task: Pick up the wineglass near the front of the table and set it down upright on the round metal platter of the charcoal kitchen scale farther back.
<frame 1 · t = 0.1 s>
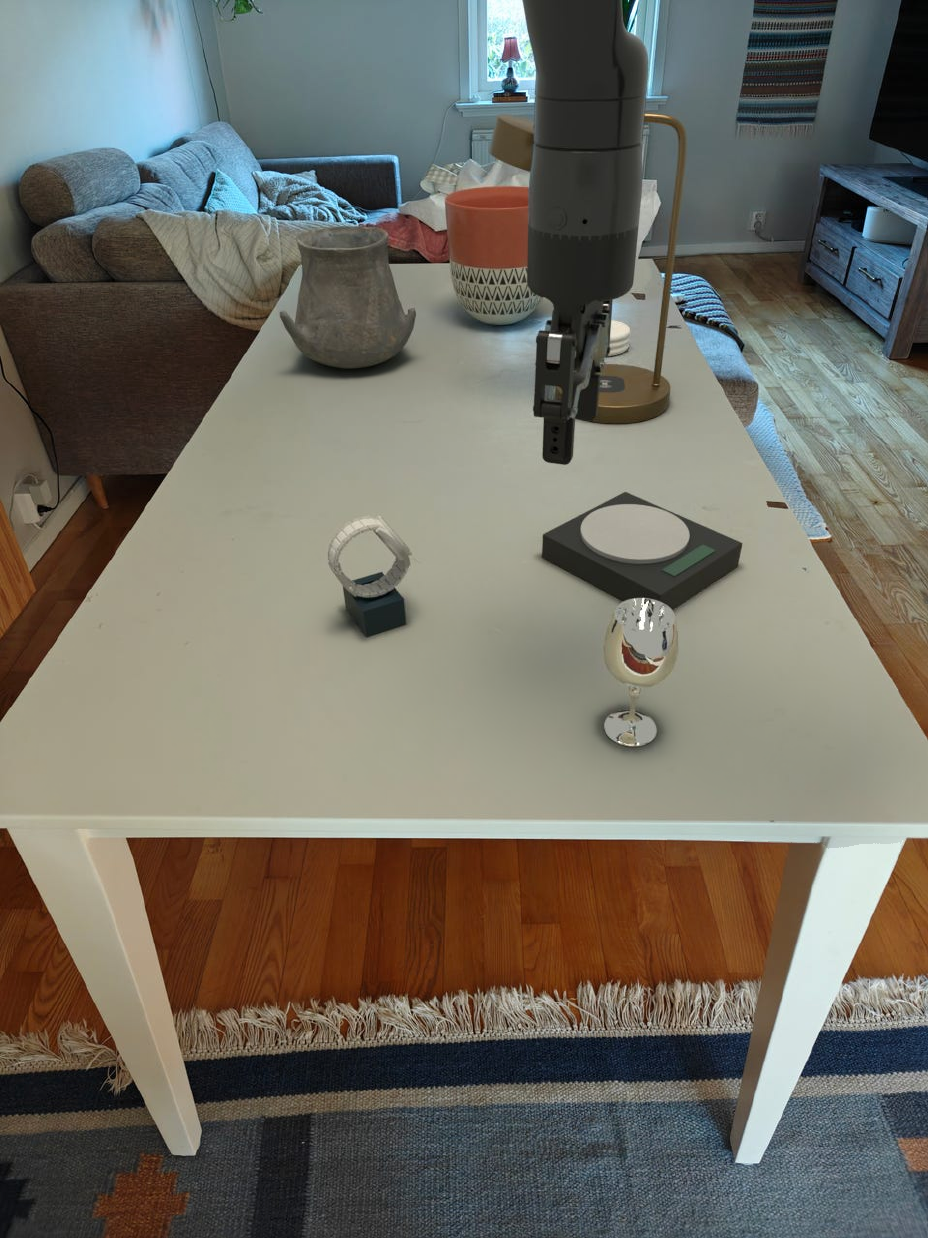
hand: (571, 438, 68), 22 cm above the table, tool pointing down, fingers open, 8 cm apart
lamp: (578, 401, 130), on the table
vessel: (354, 358, 147), on the table
white round stack: (599, 348, 148), on the table
scale: (638, 561, 93), on the table
watch: (376, 617, 87), on the table
wineglass: (629, 729, 73), on the table
planter: (500, 321, 161), on the table
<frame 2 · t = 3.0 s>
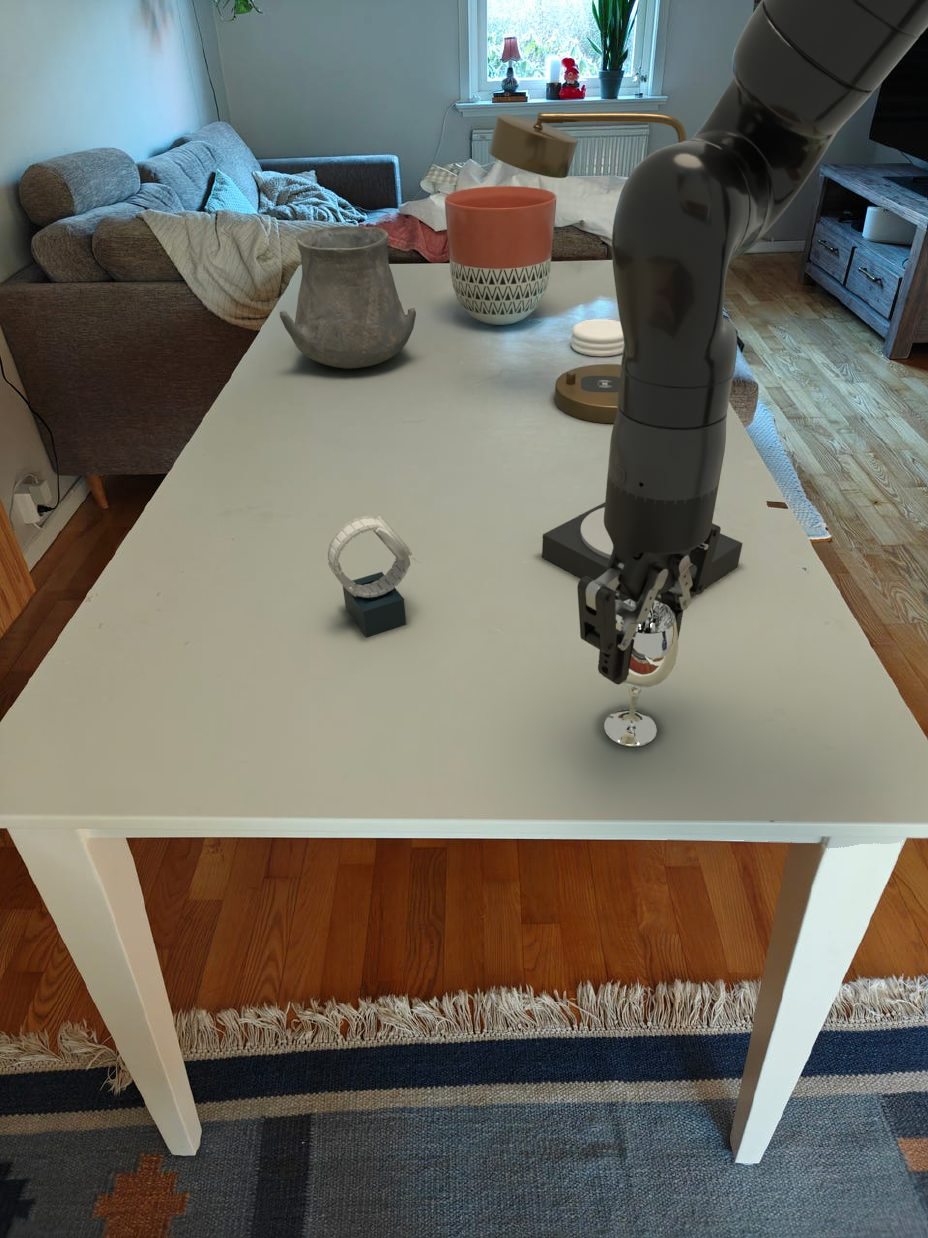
hand: (638, 659, 68), 8 cm above the table, tool pointing down, fingers closed on wineglass, 5 cm apart
wineglass: (630, 729, 73), on the table, touching gripper
everything else where it was.
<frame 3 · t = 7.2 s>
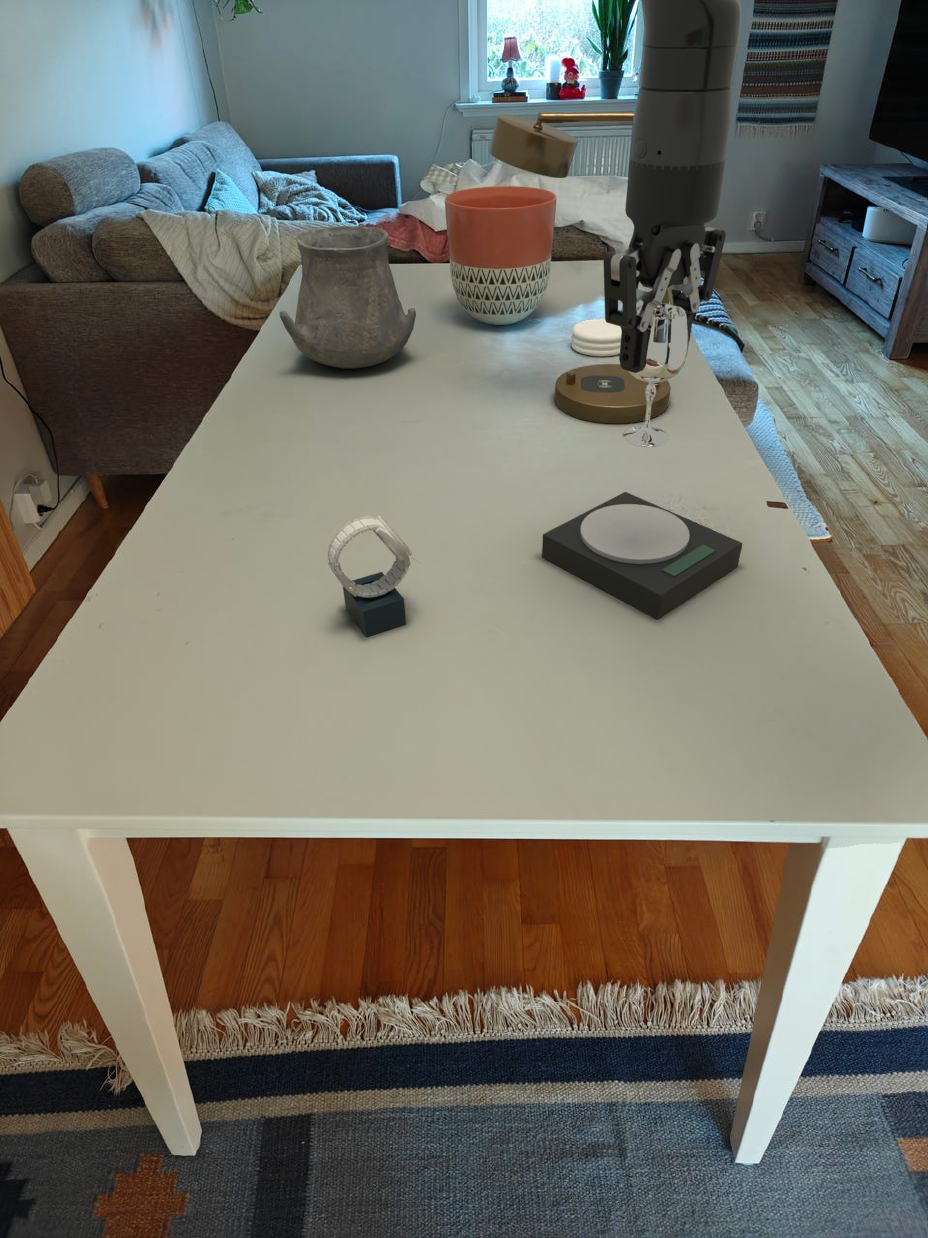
hand: (654, 360, 78), 23 cm above the table, tool pointing down, fingers closed on wineglass, 5 cm apart
wineglass: (645, 438, 82), point 15 cm above the table, touching gripper
everything else where it was.
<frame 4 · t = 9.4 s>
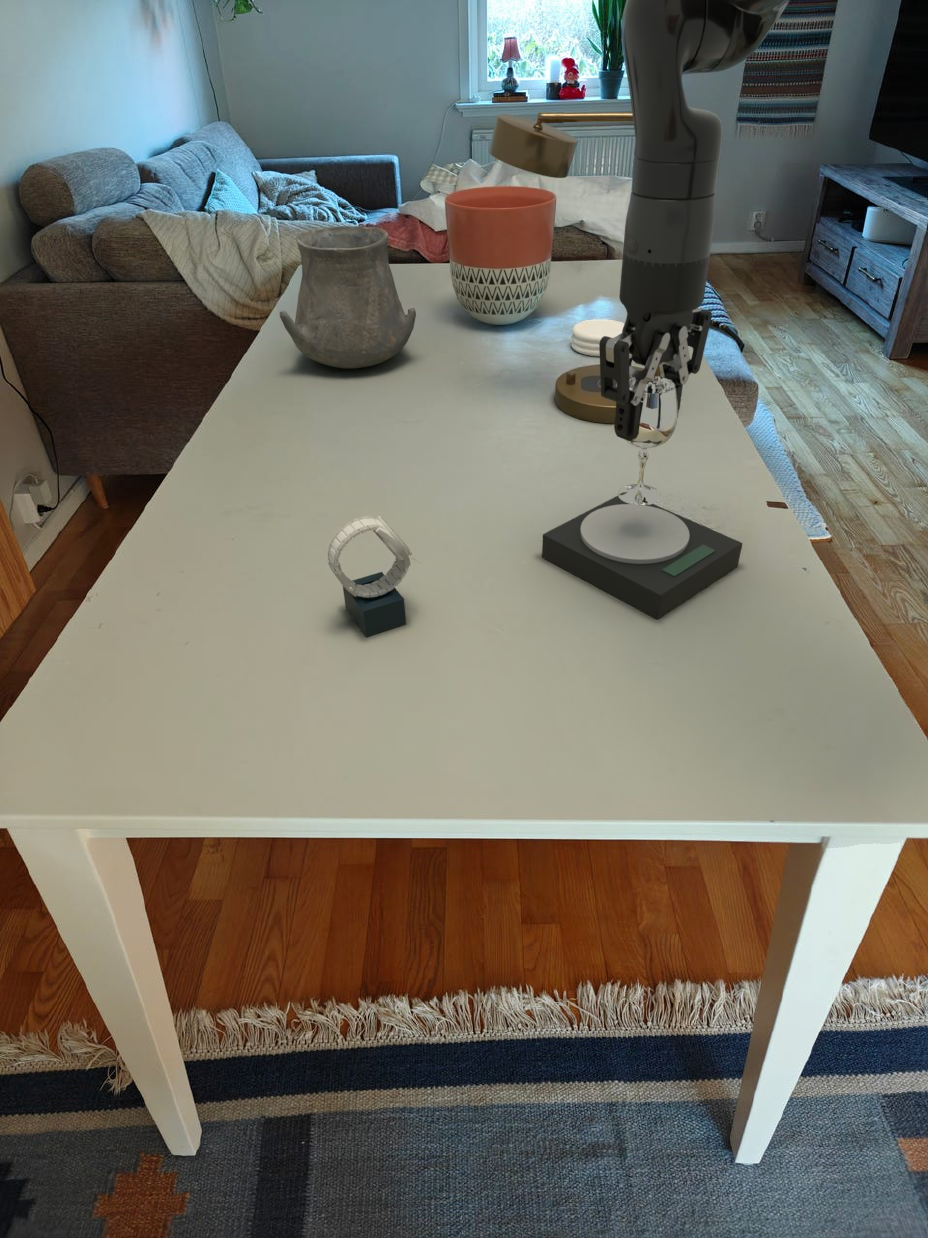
hand: (646, 427, 85), 15 cm above the table, tool pointing down, fingers closed on wineglass, 5 cm apart
wineglass: (638, 496, 89), point 8 cm above the table, touching gripper
everything else where it was.
when the fingers open (11 cm above the table, at t = 11.2 s): wineglass stays where it is, resting on scale.
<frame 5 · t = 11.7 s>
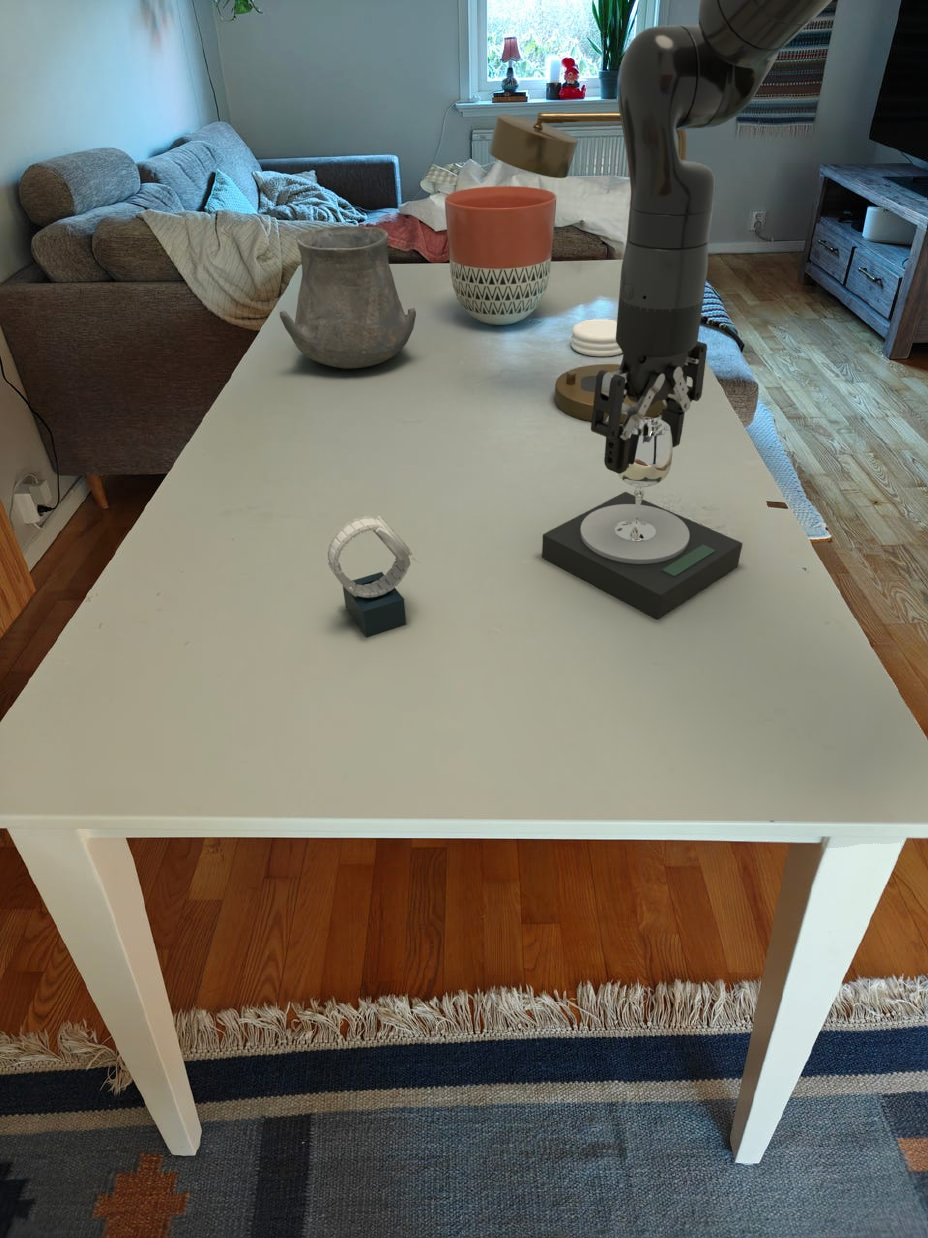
hand: (643, 456, 87), 12 cm above the table, tool pointing down, fingers open, 8 cm apart
wineglass: (634, 532, 92), point 3 cm above the table, touching scale
everything else where it was.
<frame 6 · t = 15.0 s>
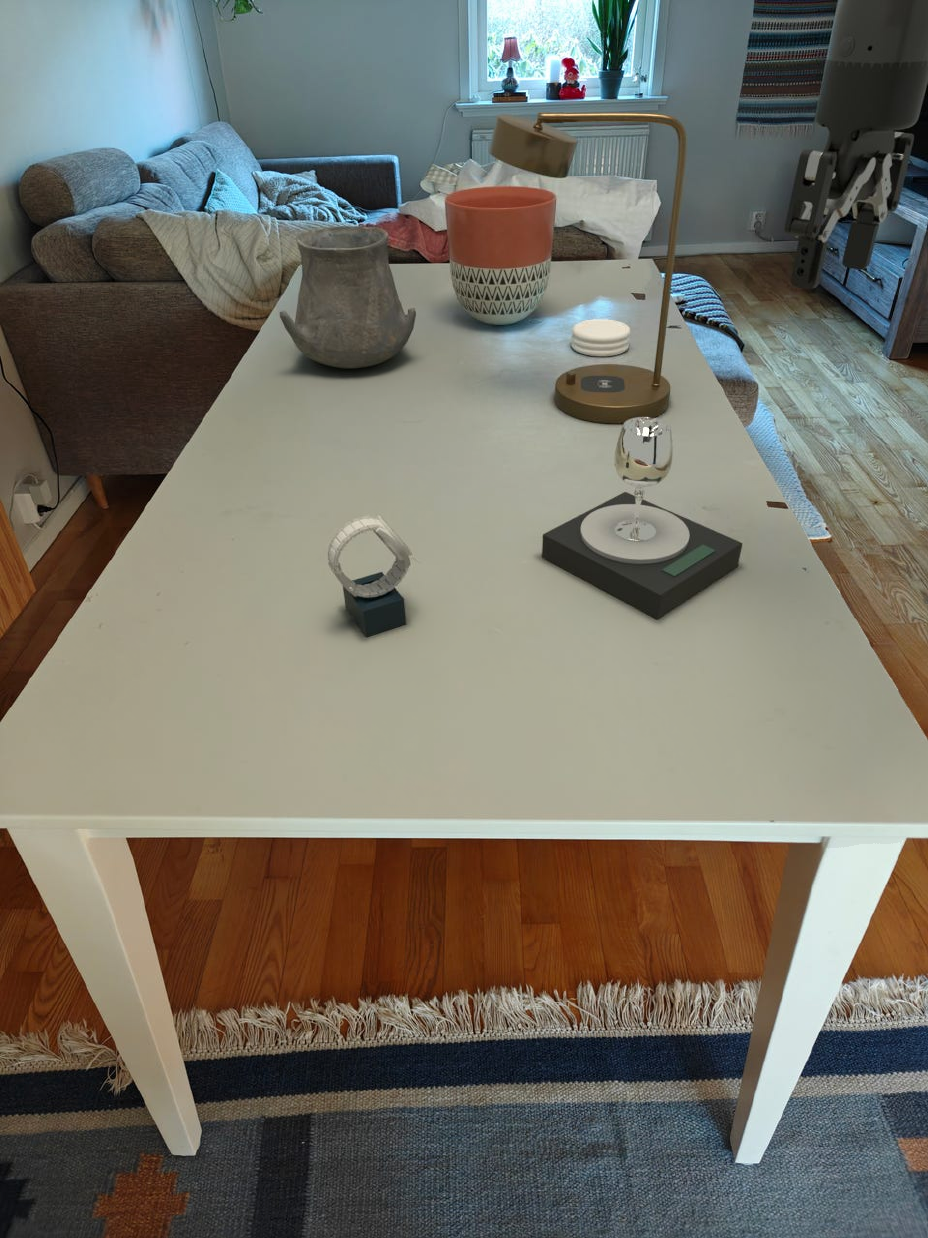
hand: (830, 276, 74), 30 cm above the table, tool pointing down, fingers open, 8 cm apart
nothing on the table moved.
at the end: wineglass inside the target area on the scale (0.1 cm from its centre), point 3.4 cm above the scale's base; wineglass tilted 0°; the gripper is holding nothing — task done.
